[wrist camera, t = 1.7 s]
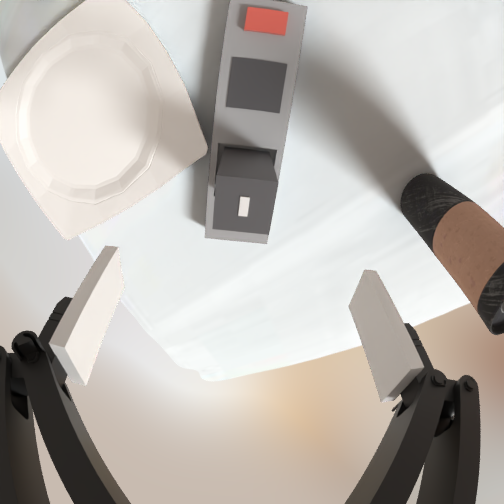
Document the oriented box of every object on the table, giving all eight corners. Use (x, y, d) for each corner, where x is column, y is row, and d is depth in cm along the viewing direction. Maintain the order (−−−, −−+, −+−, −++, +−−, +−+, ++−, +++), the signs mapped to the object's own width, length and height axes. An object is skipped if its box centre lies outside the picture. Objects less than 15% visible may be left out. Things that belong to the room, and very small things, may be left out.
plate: (75, 240, 35) (67, 251, 33) (-8, 107, 23) (-20, 111, 20) (227, 150, 29) (225, 156, 27) (124, -23, 17) (115, -29, 15)
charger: (224, 146, 28) (216, 175, 20) (269, 151, 28) (278, 182, 21) (220, 187, 30) (212, 229, 23) (262, 191, 31) (268, 235, 23)
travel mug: (396, 227, 35) (477, 346, 18) (400, 172, 30) (510, 278, 14) (441, 221, 34) (526, 322, 17) (447, 169, 30) (556, 260, 13)
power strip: (237, -30, 18) (236, -40, 15) (307, -20, 18) (314, -28, 16) (207, 228, 34) (204, 241, 32) (265, 234, 35) (267, 247, 32)
